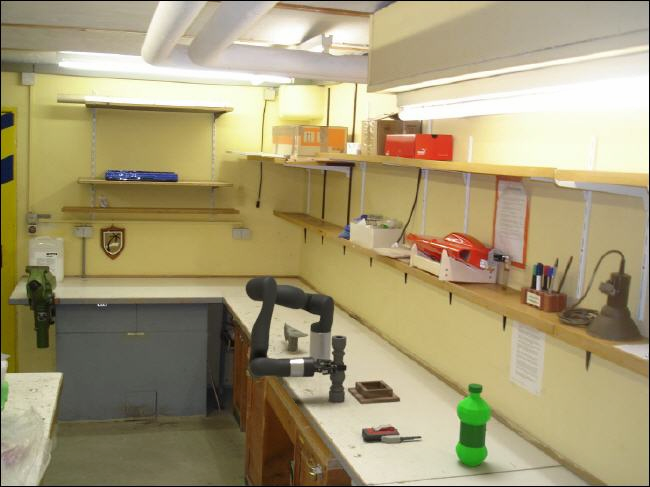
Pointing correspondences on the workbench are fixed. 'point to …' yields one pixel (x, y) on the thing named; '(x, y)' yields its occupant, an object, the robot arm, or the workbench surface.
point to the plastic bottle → (473, 427)
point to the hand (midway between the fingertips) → (344, 366)
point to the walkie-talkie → (384, 434)
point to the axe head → (292, 336)
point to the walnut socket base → (373, 392)
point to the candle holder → (337, 378)
